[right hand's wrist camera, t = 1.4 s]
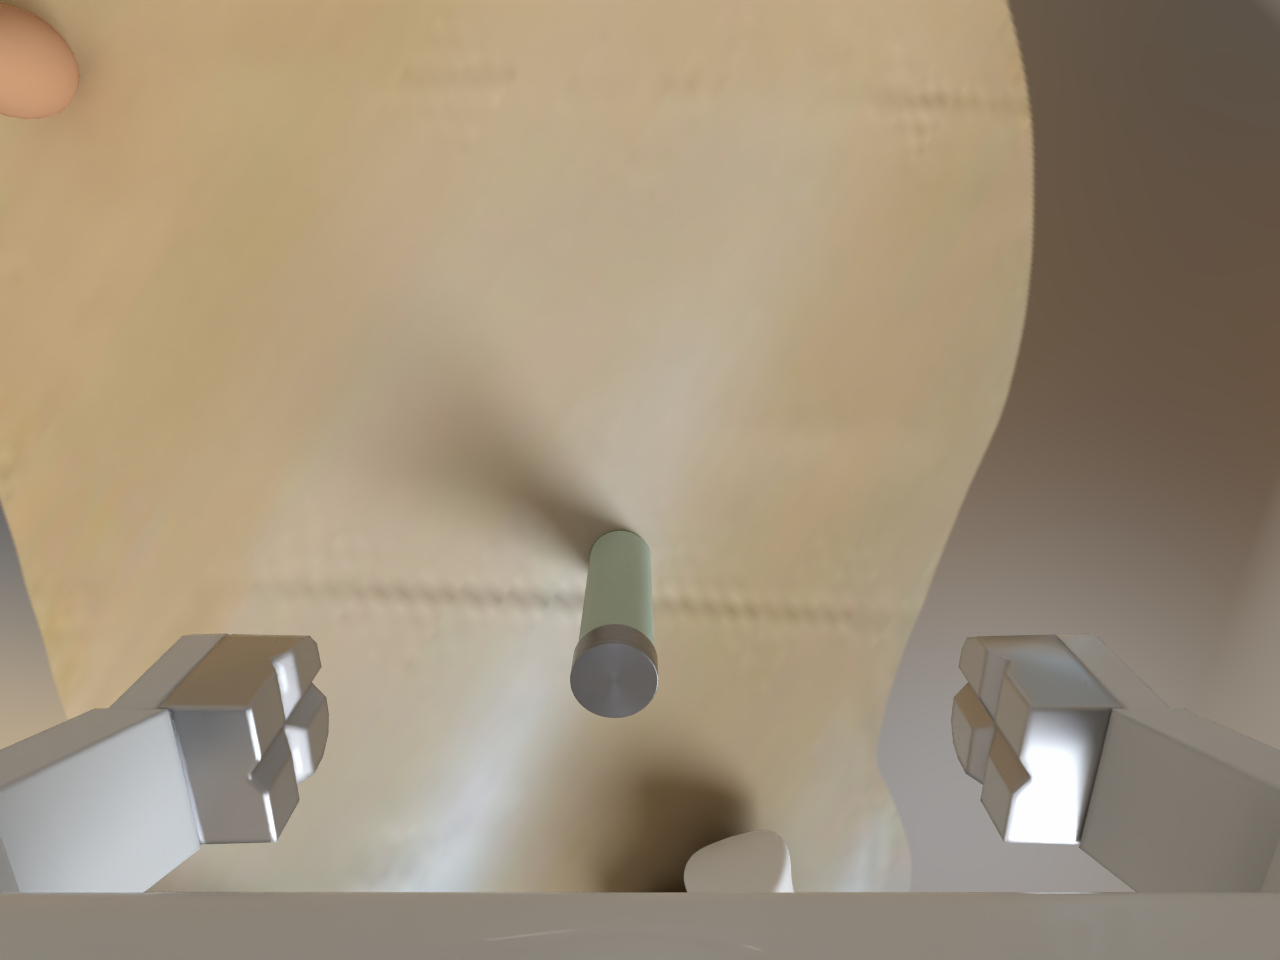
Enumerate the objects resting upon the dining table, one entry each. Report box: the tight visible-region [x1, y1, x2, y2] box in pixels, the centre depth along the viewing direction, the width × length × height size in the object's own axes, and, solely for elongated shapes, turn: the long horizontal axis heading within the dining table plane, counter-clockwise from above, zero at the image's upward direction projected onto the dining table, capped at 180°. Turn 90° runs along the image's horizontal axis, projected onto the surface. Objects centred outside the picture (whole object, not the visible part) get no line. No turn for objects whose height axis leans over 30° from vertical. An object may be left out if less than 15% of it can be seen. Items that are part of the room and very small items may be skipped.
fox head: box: [684, 830, 794, 892], centre depth 70 cm, size 13×17×20 cm
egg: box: [0, 3, 79, 119], centre depth 47 cm, size 6×6×8 cm
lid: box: [570, 624, 658, 718], centre depth 48 cm, size 5×5×2 cm
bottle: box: [579, 531, 653, 644], centre depth 55 cm, size 5×5×16 cm
